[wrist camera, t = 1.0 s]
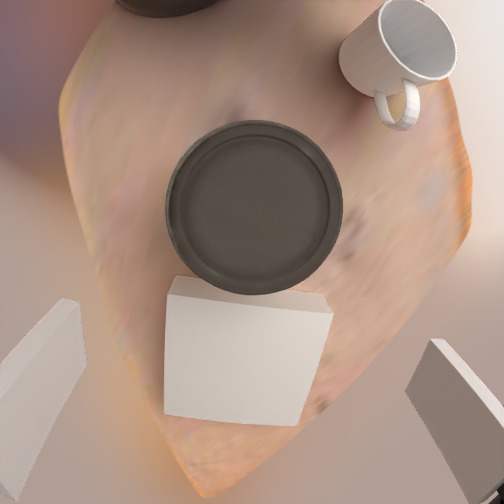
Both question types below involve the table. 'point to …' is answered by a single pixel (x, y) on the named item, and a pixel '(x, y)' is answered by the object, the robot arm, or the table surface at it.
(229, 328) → the base
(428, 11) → the mug
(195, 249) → the coffee can
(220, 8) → the table surface
